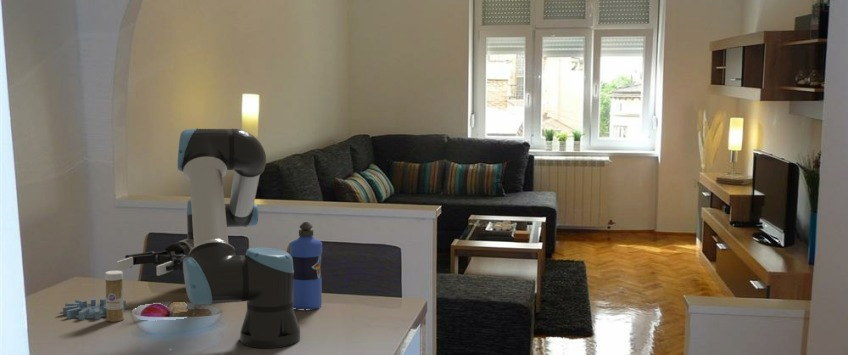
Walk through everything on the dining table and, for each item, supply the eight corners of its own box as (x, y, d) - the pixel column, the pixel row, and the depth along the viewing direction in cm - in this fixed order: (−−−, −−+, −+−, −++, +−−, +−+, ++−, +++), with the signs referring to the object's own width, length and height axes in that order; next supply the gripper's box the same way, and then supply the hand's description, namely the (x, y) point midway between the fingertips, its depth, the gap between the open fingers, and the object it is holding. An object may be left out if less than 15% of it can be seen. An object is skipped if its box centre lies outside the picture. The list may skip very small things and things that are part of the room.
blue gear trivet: (110, 321, 218) (110, 313, 218) (51, 319, 219) (51, 311, 219) (135, 304, 235) (135, 297, 235) (80, 302, 236) (80, 295, 235)
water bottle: (325, 302, 240) (325, 220, 237) (317, 311, 231) (318, 226, 228) (294, 301, 241) (294, 219, 238) (286, 310, 232) (286, 224, 229)
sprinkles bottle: (105, 322, 217) (104, 274, 215) (106, 318, 221) (105, 270, 220) (123, 321, 218) (122, 273, 217) (124, 316, 223) (123, 269, 221)
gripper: (217, 268, 245) (175, 285, 225) (147, 261, 252) (101, 277, 232) (216, 244, 244) (174, 259, 224) (147, 238, 251) (100, 251, 231)
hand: (137, 268), depth 228 cm, fingers open, 13 cm apart
